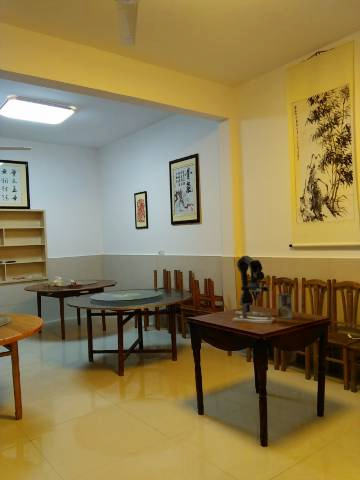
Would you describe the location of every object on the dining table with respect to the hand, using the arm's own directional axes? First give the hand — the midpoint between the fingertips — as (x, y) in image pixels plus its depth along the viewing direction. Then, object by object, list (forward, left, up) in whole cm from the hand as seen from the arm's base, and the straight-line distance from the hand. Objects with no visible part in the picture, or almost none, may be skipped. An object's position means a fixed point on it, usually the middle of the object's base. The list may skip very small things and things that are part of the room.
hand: (255, 300), depth 271 cm
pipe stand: (+6, -1, -13) cm, 14 cm away
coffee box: (-9, +18, -13) cm, 24 cm away
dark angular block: (+6, -6, -10) cm, 14 cm away
